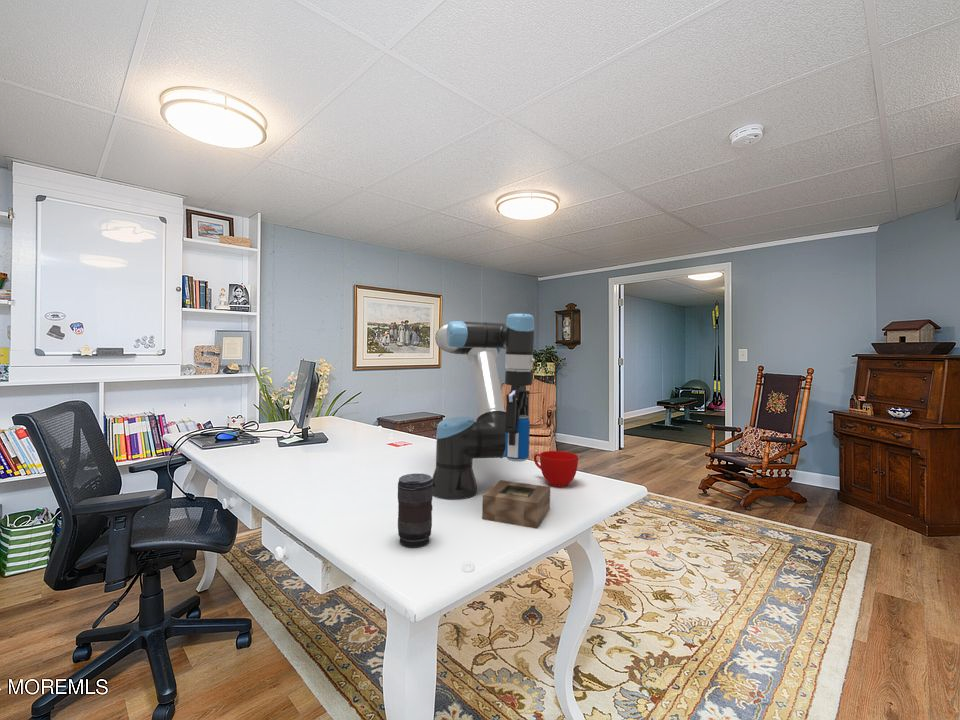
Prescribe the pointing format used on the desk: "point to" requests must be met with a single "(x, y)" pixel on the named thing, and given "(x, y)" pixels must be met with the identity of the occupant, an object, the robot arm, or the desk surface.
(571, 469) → the ceramic cup
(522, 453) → the beverage can
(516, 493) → the gold metal plaque
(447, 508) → the desk surface
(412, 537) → the camera lens
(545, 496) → the socket block
